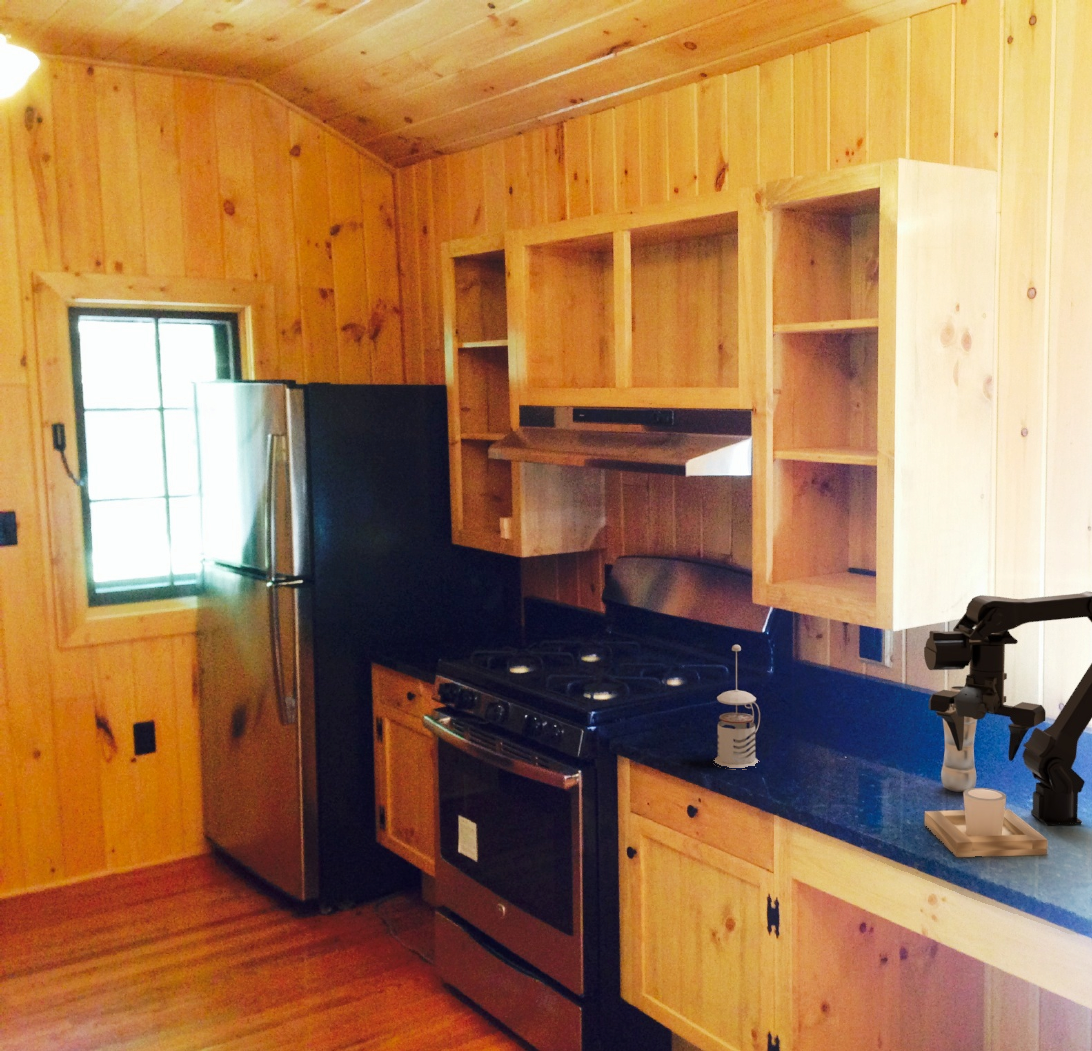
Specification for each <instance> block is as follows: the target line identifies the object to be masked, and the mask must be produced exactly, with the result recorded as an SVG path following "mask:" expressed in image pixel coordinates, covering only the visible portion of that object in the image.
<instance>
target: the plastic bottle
mask: <svg viewBox="0 0 1092 1051" xmlns="http://www.w3.org/2000/svg"><path fill="white" fill-rule="evenodd" d="M964 686H965V685H953V686H950V689H949V691H955V692H960V690H961V689H962V688H964ZM977 721H978V720H977V719H973V718H970V717H965V716H964V739H963V747H962V750H961V751H958V750H957V748H956V745H955V742H954V739H953V736H952V733H951V731H950V728H949V726H948V724H947V722H946V721H945V720H944V719H943V718H942V724H943V731H944V753H943V754H944V756H943V763H942V767H941V772H940V778H941V784H942V785H943V788H944V789H946V790H948V791H951V792H956V793H964V791H965V790H967V789H971V788H976V784H977V772H976V767H975V752H974V748H975V747H974V746H975V744H974V743H975V734H976V728H977Z"/></svg>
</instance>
